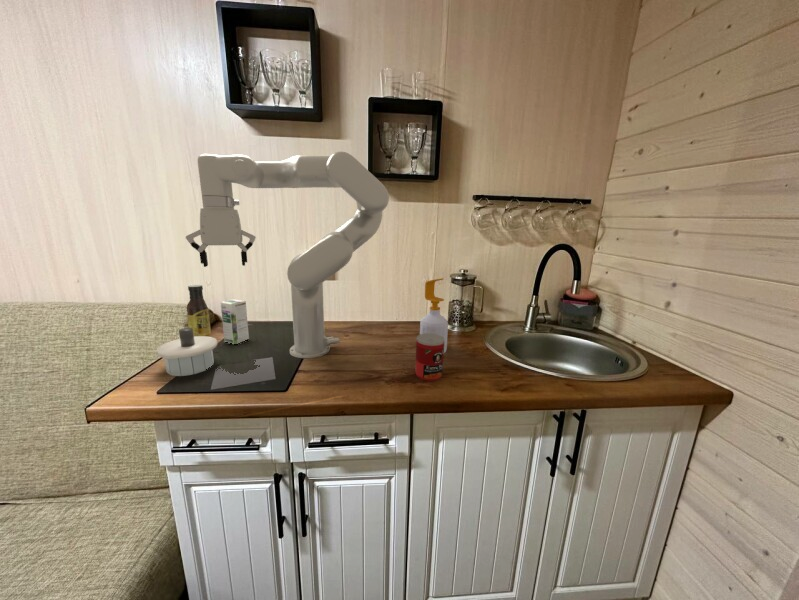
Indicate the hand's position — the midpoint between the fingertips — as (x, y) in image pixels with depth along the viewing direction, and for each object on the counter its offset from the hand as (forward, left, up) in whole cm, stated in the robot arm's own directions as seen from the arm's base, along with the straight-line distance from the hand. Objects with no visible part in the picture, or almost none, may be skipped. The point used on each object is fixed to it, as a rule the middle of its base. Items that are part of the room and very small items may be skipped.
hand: (225, 265), depth 91 cm
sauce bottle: (+11, -17, -28) cm, 35 cm away
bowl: (+11, +4, -28) cm, 31 cm away
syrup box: (0, -14, -28) cm, 32 cm away
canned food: (-50, +33, -28) cm, 66 cm away
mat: (-3, +13, -28) cm, 31 cm away
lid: (+11, +4, -22) cm, 25 cm away
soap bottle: (-60, +18, -28) cm, 69 cm away
